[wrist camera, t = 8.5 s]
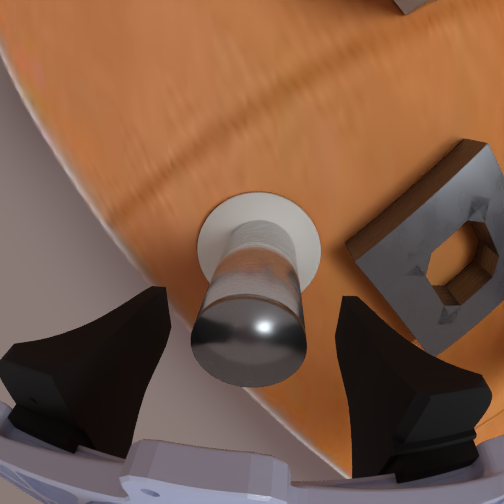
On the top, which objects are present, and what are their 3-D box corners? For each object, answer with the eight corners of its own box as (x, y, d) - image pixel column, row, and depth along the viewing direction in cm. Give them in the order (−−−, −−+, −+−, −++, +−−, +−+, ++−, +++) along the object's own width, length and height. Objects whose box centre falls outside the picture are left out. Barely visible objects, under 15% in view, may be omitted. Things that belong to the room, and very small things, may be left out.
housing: (516, 253, 17) (535, 268, 15) (419, 337, 20) (431, 359, 18) (464, 138, 14) (488, 143, 12) (345, 243, 18) (354, 262, 15)
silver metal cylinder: (310, 256, 18) (329, 351, 10) (258, 297, 19) (247, 400, 12) (261, 205, 17) (248, 276, 9) (209, 252, 18) (168, 342, 11)
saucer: (343, 254, 18) (345, 258, 18) (257, 320, 20) (256, 325, 20) (260, 164, 16) (260, 166, 16) (175, 247, 19) (173, 250, 18)
